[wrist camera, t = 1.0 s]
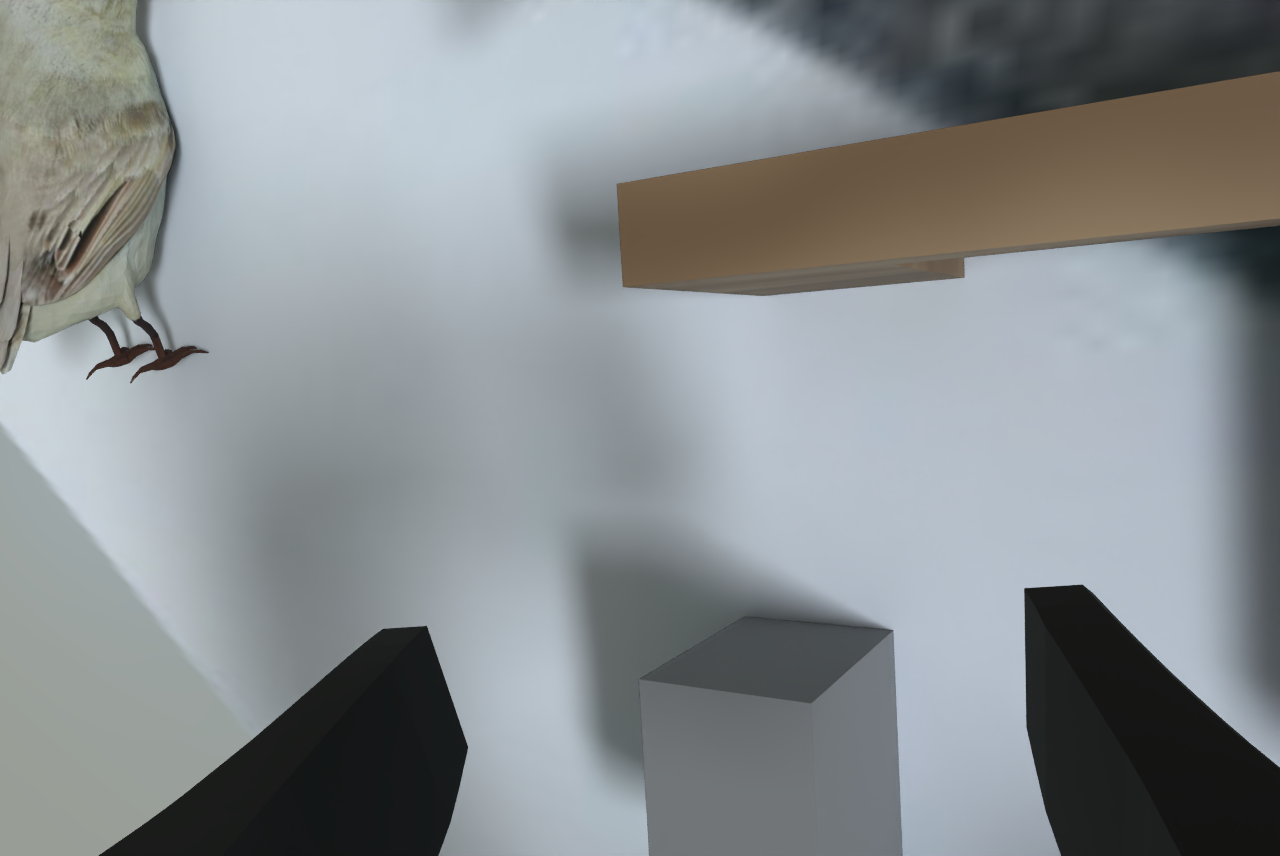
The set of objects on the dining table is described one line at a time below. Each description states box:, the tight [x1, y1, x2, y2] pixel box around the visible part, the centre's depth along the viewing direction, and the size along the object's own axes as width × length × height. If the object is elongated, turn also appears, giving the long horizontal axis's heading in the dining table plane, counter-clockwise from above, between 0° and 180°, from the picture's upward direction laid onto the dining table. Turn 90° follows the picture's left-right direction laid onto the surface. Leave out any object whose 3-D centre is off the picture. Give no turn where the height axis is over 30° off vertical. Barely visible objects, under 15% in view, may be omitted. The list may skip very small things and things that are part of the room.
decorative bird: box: [0, 0, 209, 383], centre depth 34 cm, size 5×16×8 cm, turn 179°
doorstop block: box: [639, 617, 903, 856], centre depth 23 cm, size 6×4×6 cm, turn 4°
